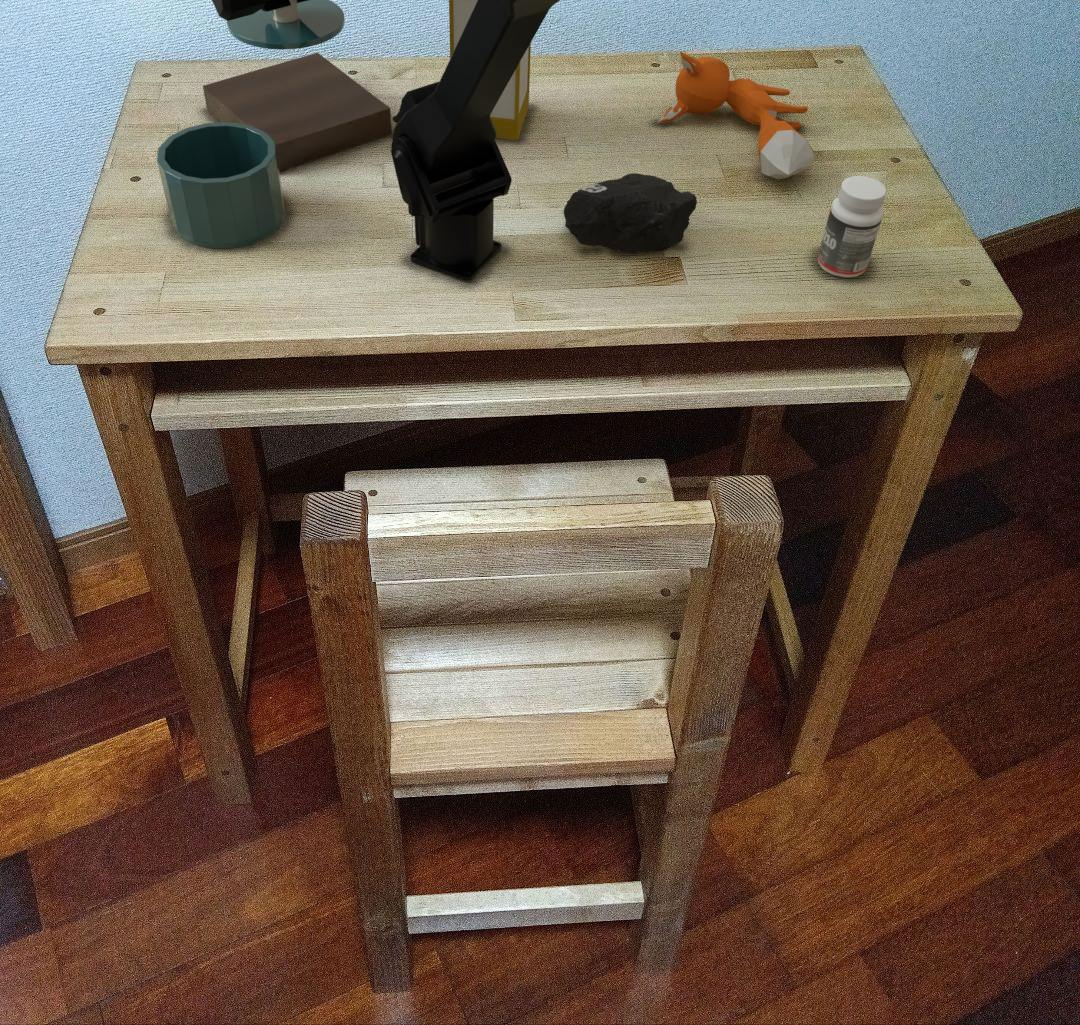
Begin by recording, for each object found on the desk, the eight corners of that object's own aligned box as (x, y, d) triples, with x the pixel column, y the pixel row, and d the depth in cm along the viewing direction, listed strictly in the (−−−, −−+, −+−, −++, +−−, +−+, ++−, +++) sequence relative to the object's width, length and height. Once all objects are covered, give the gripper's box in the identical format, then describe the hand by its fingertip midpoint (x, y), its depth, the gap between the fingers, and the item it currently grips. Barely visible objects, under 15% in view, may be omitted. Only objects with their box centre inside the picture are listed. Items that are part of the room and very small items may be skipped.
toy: (779, 42, 128) (662, 31, 123) (879, 142, 114) (751, 134, 109) (754, 110, 134) (641, 102, 128) (846, 212, 120) (723, 209, 114)
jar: (301, 196, 113) (292, 131, 108) (259, 257, 106) (247, 190, 101) (201, 179, 114) (188, 114, 109) (153, 238, 107) (136, 171, 102)
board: (392, 134, 122) (390, 108, 119) (275, 173, 116) (271, 146, 113) (320, 77, 129) (317, 52, 127) (207, 111, 123) (202, 85, 121)
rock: (621, 279, 106) (628, 225, 101) (554, 236, 110) (559, 182, 105) (693, 241, 111) (703, 188, 106) (627, 201, 115) (634, 148, 110)
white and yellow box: (440, 158, 119) (433, -81, 101) (465, 100, 127) (462, -130, 110) (508, 167, 118) (513, -73, 101) (528, 108, 127) (536, -123, 109)
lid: (367, 36, 114) (363, -17, 111) (263, 66, 109) (255, 12, 105) (308, -5, 120) (303, -57, 117) (208, 21, 115) (198, -31, 112)
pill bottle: (813, 248, 110) (833, 171, 104) (862, 251, 110) (885, 174, 104) (820, 277, 107) (841, 199, 101) (870, 280, 107) (894, 202, 101)
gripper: (374, -187, 103) (324, -95, 117) (182, -151, 95) (153, -57, 109) (426, -67, 105) (371, 10, 118) (242, -21, 97) (206, 55, 110)
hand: (278, 2), depth 114 cm, fingers closed on lid, 3 cm apart
